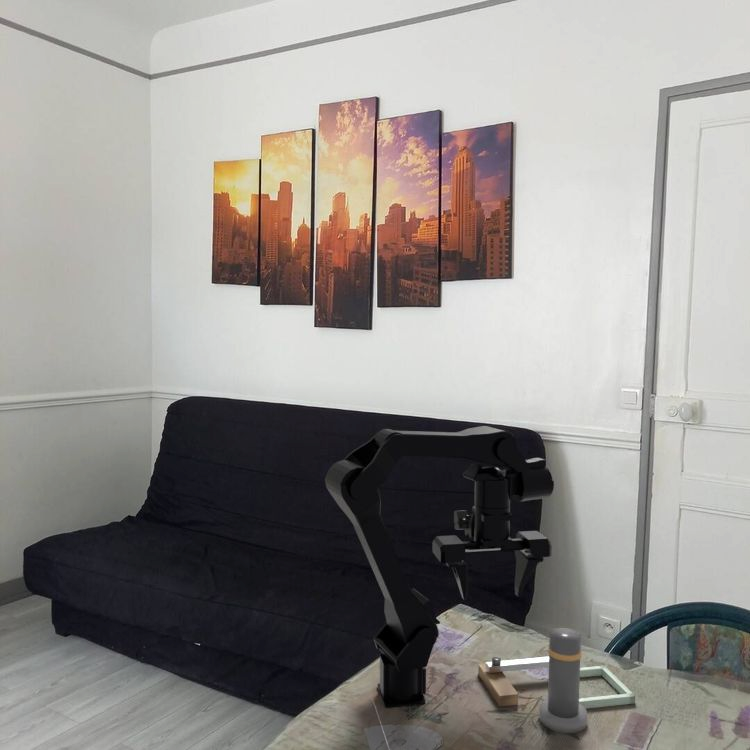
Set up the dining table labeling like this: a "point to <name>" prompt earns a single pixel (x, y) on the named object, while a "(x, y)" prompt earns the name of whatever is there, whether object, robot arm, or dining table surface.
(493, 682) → the latch rail
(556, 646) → the plug
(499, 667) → the lever
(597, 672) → the pale green u-shaped bracket
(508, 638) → the dining table surface
